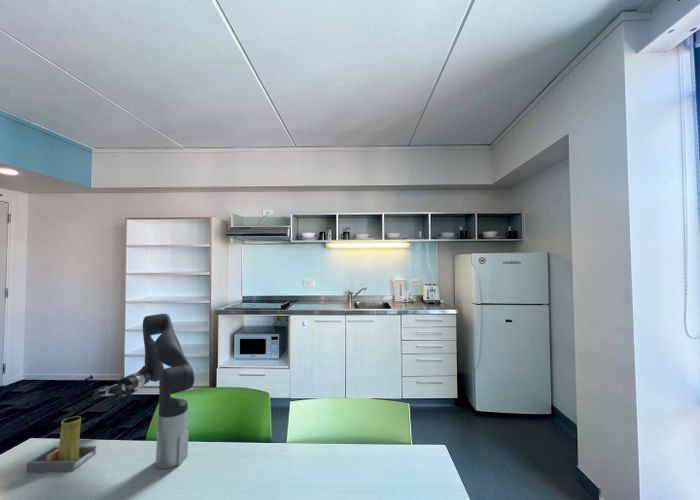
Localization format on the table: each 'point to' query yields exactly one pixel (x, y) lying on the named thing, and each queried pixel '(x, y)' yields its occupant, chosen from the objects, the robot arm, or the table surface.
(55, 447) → the grey tray
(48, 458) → the pusher
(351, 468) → the table surface
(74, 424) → the vase
